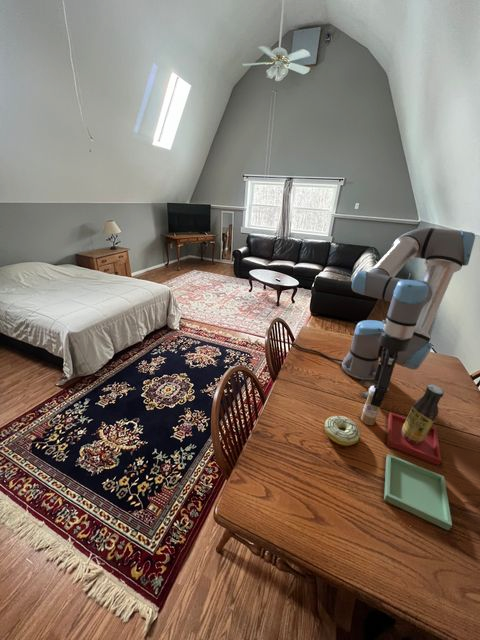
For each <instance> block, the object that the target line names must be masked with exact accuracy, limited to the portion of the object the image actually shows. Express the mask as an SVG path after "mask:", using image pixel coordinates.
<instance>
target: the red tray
mask: <svg viewBox="0 0 480 640" xmlns="http://www.w3.org/2000/svg"><path fill="white" fill-rule="evenodd" d="M406 419H407V417H405V416H402V415H399V414H396V413H393V412H389V414H388V417H387V433H386V434H387V435H386V436H387V437H386V446H389V447H391V448H393V449H396V450H399V451H401V452H403V453H406V454H409V455H411V456H414V457H416V458H419V459H421V460H424V461H426V462H428V463H432V464H433V465H436V466H440V464H441V462H442V454H441V449H440V448H441V447H440V443H439V442H440V441H439V436H438V430H437V427H434V426H431V428H430V430H429V432H428V433H427V435H426V437H425V439H424V440H423V441H422V443H420V444H413V443H411V442H409V441H407V440H406V439H405V438H404V437H403V436H402V433H401V431H402V427H403V425H404V423H405V421H406Z"/></svg>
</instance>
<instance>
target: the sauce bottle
mask: <svg viewBox="0 0 480 640" xmlns="http://www.w3.org/2000/svg"><path fill="white" fill-rule="evenodd" d="M444 394H445V390H444V389H442V388H441V387H440V386H438V385H435V384H428V385H427V387H426V388H425V393H424V394H423V396H421V397H420V398H418V399H416V401H415V403H414V404H413V405H412V407H411V409H410V411H409V413H408V415H407V417H406V418H407V419H406V421H405V423H404V425H403V427H402V431H401V433H402V436H403V437H404V438H405V439H406V440H407V441H409V442H411V443H413V444H420V443H422V441H423V440H424V439H425V437H426V435H427V433H428V432H429V430H430V428H431V427H433V424H434V423H435V421H436V418H437V416H438V415H439V412H440V411H439V406H438V405H439V402H440V400H441V399H442V398H443V396H444Z"/></svg>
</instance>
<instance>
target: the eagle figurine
mask: <svg viewBox="0 0 480 640" xmlns="http://www.w3.org/2000/svg"><path fill="white" fill-rule="evenodd" d="M359 384H360V386H364V387H367V388H368V389H367V391H365V392H362V393H361V396H362V398H363V399H365V400H367V397H368V395H369V389H370V387H371V386H374V385H375V386H377V385H378V382H377V381H374V380H371V379H364V380H360V381H359ZM388 390H390V386H388Z"/></svg>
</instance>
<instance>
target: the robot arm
mask: <svg viewBox="0 0 480 640" xmlns="http://www.w3.org/2000/svg"><path fill="white" fill-rule="evenodd" d="M475 241H476V234H475V233H474V232H471V231H465V230H458V229H457V230H455V229H446V228H445V229H444V228H436V227H435V228H434V227H420V228H416V229H413V230H410V231H408V232H405V233H403V234H402V235H400V236H398V237H397V238H396V239H395V240H394V241H393V243H391V247H390V249H389V250H388V251H387V252H386V253H385V254H384V255H383V256H382V257H381V258H380V260H378V261H377V262H376V264H375V265H373V266H372V268H371V269H369V271H367V270H358V271H357V272H356V273H355V274H354V276H353V278H352V281H351V290H352V292H354V293H357V294H360V295H362V296H366V297H370V298H374V299H379V300H383V301H386V302H390V305H389V307H388V311H387V314H386V318H385V319H382V321H380V320H373V319H367V320H365V319H364V320H361V321H359V322H357V324H356V325H355V330H354V331H353V335H352V341H351V345H350V349H349V352H348V353H347V354H346V356H345V357H344V358H343V359H339V358H334V357H331V356H328V355H326V354H325V353H322V352H320V351H318V350H315V349H310V348H305V347H301V346H300V345H298V344H297V343H295V342H292V343H290V345H291V346H293V345H294V346H296V348H298V349H300V350H303V351H308V352H312V353H316V354H319V355H321V356H323V357H325V358H326V359H329V360H331V361H336V362H340V363H341V369H342V371H343V372H344V373H345V374H346V375H347V376H349V377H350V378H353V379H356V380H359V381H362V380H364V379H371V380H373V381H376V382H378V385H377V386H375V385H374V388H375V391H374V394H373V397H372V400H371V405H374V406H377V407H380V408H381V407H382V403H383V401H384V399H385V396H386V394H388V391H389V389H388V387H390V382H391V380H392V375H393V372H394V369H395V365H398V366H401V367H402V368H406V369H409V370H413V371H414V370H415V371H416V370H418V369H419V368H420V367H421V365H423V363H424V361H425V360H426V358H427V357H428V355H429V353H430V352H431V350H432V348H433V343H432V342H430V341H431V336H430V334H429V331H430V329H431V326H432V324H433V322H434V320H435V318H436V315H437V312H438V311H439V308H440V306H441V303H442V301H443V299H444V296H445V294H446V292H447V289H448V288H449V285H450V283H451V280H452V278H453V275H454V274H455V273H458V272H459V271H461V269H462V267H464V266H469V263H470V259H471V255H472V252H473V249H474V244H475ZM414 258H417V259H423V260H424V265H425V266H426V269H425V272H424V273H423V276H422V278H421V279H416V280H415V279H403V278H400V277H396V275H397V274H398V273H399V272H400V271H401V270H402V269H403V267H404V266H405V265H406V264H407V263H408V261H411V260H413V259H414Z"/></svg>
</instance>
